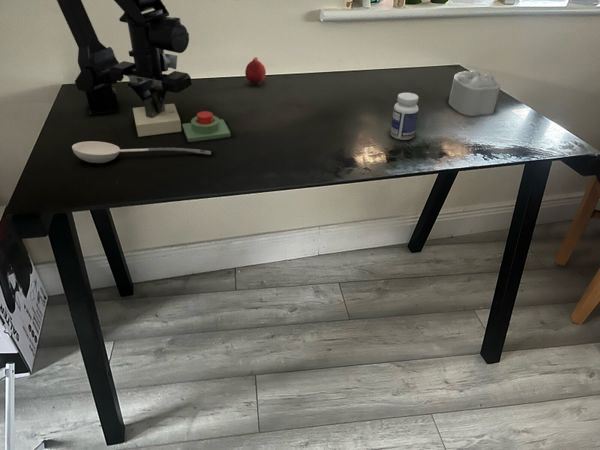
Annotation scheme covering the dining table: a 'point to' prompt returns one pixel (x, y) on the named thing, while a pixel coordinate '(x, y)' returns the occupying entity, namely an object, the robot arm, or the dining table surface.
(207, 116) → the button
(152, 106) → the hob knob
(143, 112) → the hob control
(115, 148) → the ladle
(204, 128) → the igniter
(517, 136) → the dining table surface
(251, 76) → the onion
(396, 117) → the pill bottle
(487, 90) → the lumpy-topped squat cylinder
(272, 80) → the dining table surface
